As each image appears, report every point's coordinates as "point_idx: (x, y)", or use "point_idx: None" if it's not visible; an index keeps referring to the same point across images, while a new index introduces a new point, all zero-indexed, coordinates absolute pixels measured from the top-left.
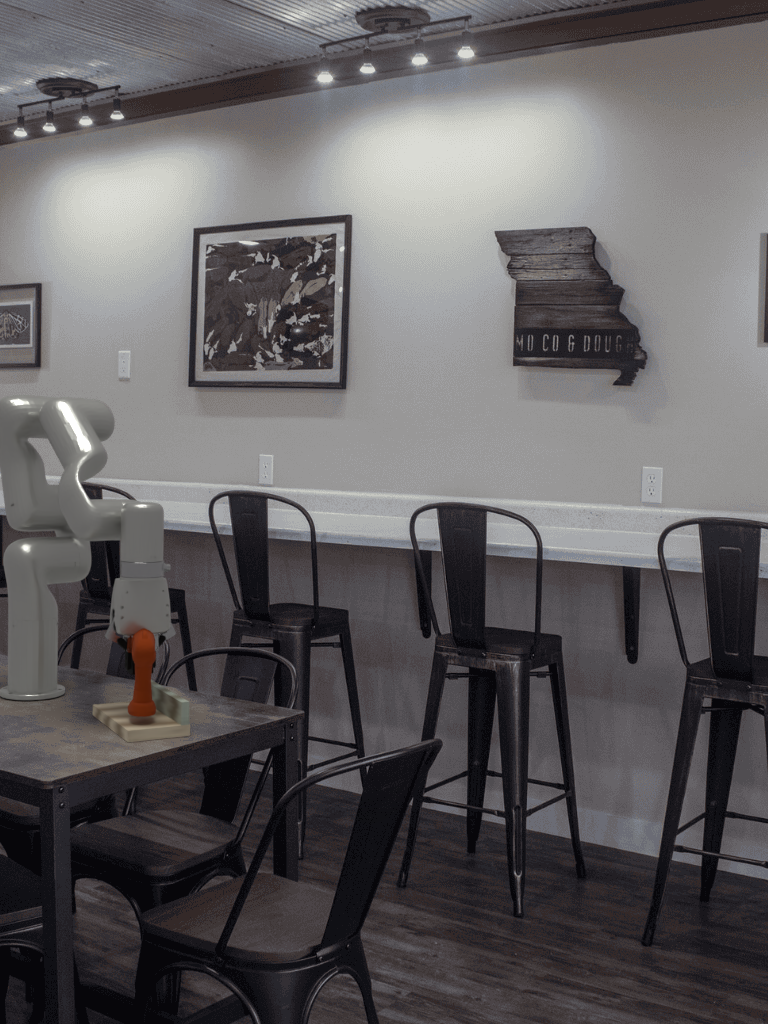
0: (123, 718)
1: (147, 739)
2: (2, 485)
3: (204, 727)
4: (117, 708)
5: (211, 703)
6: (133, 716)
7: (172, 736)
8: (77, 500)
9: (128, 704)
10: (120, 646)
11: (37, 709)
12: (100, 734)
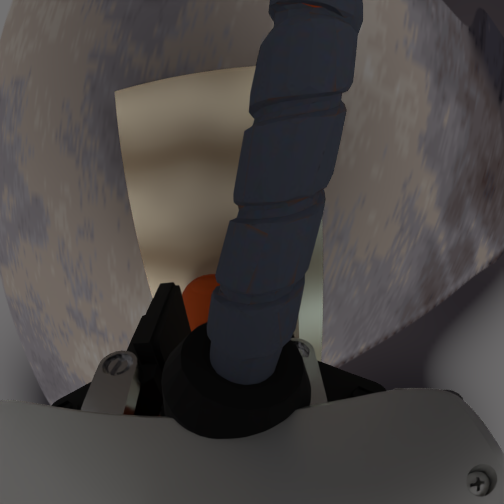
0: (174, 281)
1: None
2: None
3: (357, 295)
4: (172, 156)
5: (439, 76)
6: (202, 268)
7: None
8: None
9: (214, 110)
10: (89, 386)
11: (37, 30)
12: (130, 292)
